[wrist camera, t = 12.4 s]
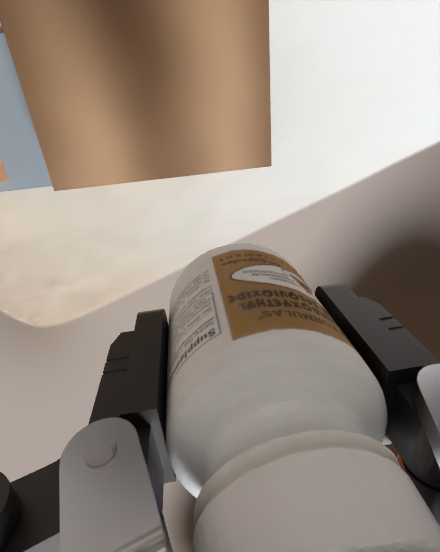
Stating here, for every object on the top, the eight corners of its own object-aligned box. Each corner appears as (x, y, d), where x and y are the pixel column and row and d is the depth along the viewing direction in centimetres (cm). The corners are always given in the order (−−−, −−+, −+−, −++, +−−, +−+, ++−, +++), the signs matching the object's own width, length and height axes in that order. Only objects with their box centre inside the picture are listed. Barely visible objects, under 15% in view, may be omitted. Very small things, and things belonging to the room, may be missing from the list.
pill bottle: (326, 279, 11) (574, 560, 4) (250, 369, 12) (342, 689, 6) (217, 212, 10) (323, 477, 3) (145, 322, 11) (93, 682, 4)
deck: (249, -16, 18) (267, -46, 14) (255, 157, 22) (271, 166, 19) (23, 1, 17) (-15, -27, 14) (74, 177, 21) (54, 191, 18)
